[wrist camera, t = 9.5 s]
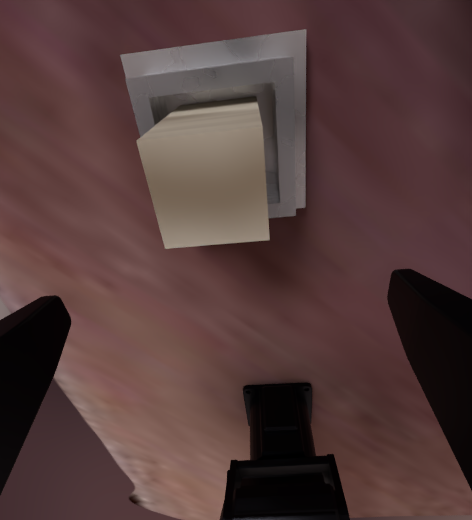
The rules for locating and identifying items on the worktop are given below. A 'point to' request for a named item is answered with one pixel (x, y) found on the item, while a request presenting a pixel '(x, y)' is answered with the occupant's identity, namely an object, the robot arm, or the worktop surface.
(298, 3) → the worktop surface
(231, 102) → the beige rectangular block
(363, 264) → the worktop surface
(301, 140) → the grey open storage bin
